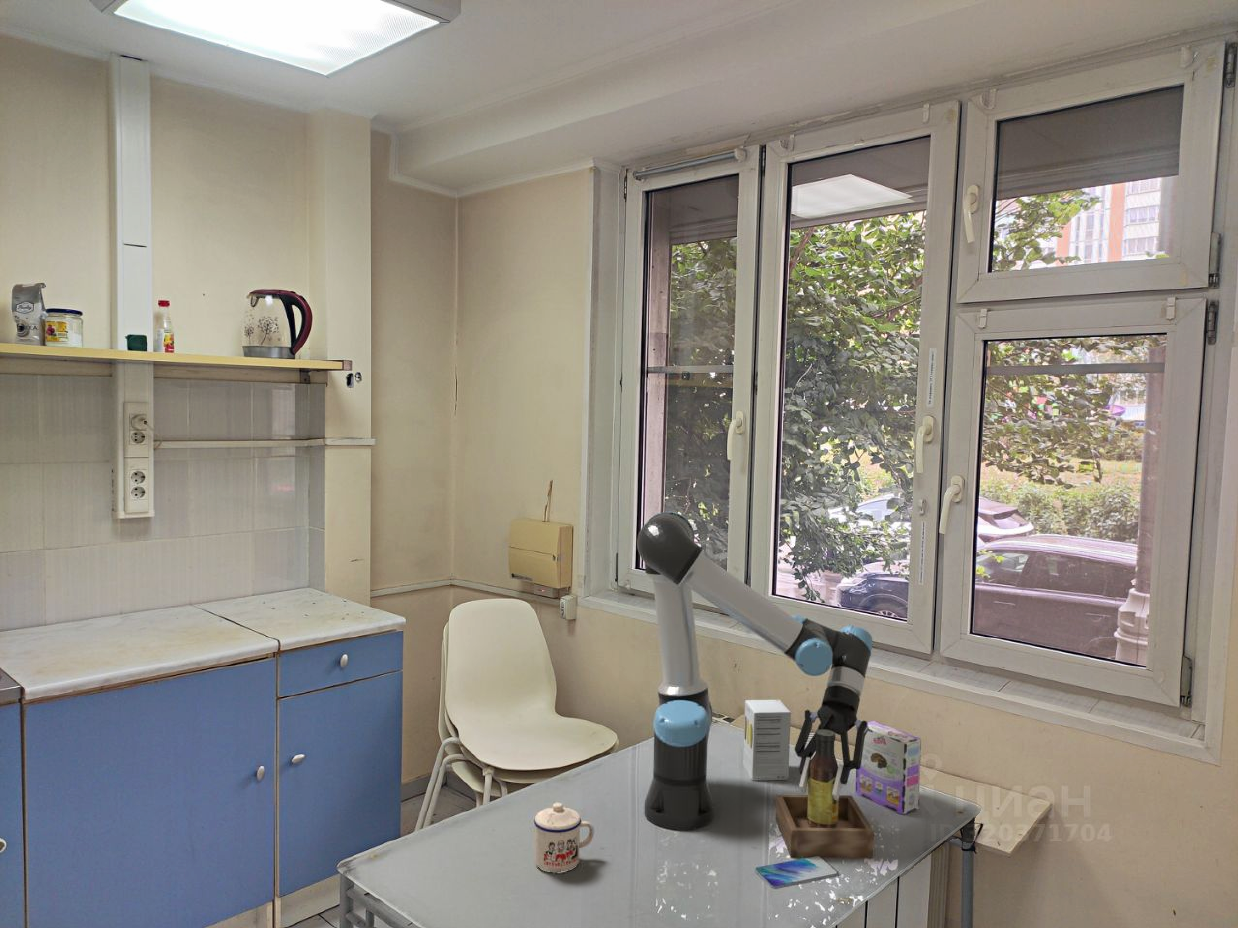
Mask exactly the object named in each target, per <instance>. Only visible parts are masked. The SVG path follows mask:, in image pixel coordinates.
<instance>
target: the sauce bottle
mask: <svg viewBox="0 0 1238 928" xmlns="http://www.w3.org/2000/svg"><path fill="white" fill-rule="evenodd" d="M815 732H816V733H814V734H815V739H816V749H815V753H814V754H813V756H812V757H811V761H810V765H809V768H810V769H809V779H808V783H807V795H808V810H807V817H808V821H807V822H808V825H809V827H811V828H836V827H837V821H838V804H839V799H838V800H834V798H833V795H832V792H833V788H834V784H835V779H836V775H837V771H838V767H839V763H838V762H837V758H836V754H835V741H836V733H835V732H833V731H831V730H826V729H820V730H815Z"/></svg>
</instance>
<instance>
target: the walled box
mask: <svg viewBox="0 0 1238 928" xmlns="http://www.w3.org/2000/svg"><path fill="white" fill-rule="evenodd" d="M807 810H808V794H775V817H774V818H775V822H776V825H777V827H778V829H779V832H780V834H781V837H782V840H783V842H784V844H785V846H786V848H787V851H788V855H789V856H790V858H808V857H813V856H821V857H822V858H823V859H824V858H826V859H827V858H829V859H874V847H875V845H874V844H875V843H874V841H875V830H874V829H873V827H872V826H871V824H870V822H869V821H868V819H867V817H866V816H865V815H864V812H863V811H862V810H861V808H860V806H859V805H858V803H857V802H856V800H855V798H854V797H853V796H852V795H851V794H849V795H847V794H846V795H843V794H842V795H840V794H839V804H838V821H837V827H836V828H811V827H809V825H808V822H807V821H808V817H807Z"/></svg>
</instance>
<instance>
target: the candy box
mask: <svg viewBox="0 0 1238 928" xmlns="http://www.w3.org/2000/svg"><path fill="white" fill-rule="evenodd" d="M866 722H867V721H866ZM867 724H868V727H869V730H868V732H867V733H866V735H865V739H864V746H863V753H862V760H861V767H860V769H858V770H857V769H855V791H854V792H855V794H856V795H859V796H861V797H863V798H865V797H866V798H865V799H867V800H869V799H870V801H872V802H874V803H877V804H878V805H881V806H883V807H885V808H887V809H889V810H892V811H894V812H897V813H899V814H901V815H905V814H908V813H911V812H914V811H917V810H919V806H920V805H919V803H920V779H921V777H920V776H921V774H920V773H921V752H922V751H921V749H922V738H921V737H919V736H915V735H913V734H910V733H907V732H904V731H901V730H898V729H896V728H893V727H890V726H888V725H885V724H883V723H880V722H877V721H874V720H872V721H868V722H867Z"/></svg>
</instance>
